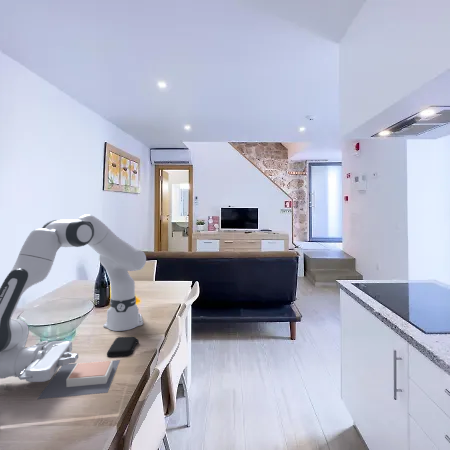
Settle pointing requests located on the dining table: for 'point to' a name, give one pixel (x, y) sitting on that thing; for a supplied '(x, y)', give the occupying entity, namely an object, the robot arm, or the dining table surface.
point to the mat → (61, 390)
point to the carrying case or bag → (122, 346)
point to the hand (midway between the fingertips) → (77, 357)
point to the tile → (90, 373)
